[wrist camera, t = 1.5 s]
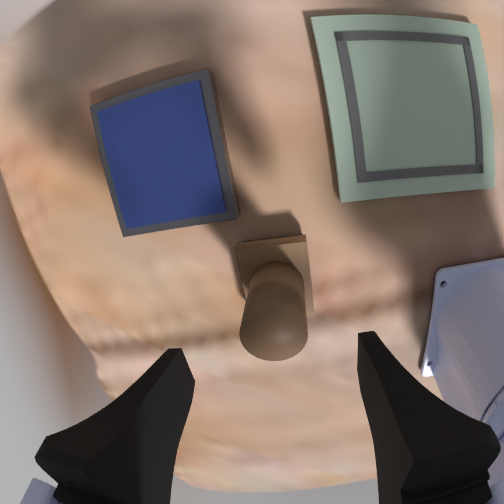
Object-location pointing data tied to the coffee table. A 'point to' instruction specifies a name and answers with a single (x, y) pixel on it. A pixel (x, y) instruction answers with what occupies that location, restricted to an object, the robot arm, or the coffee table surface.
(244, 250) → the stamp
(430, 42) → the board
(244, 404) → the coffee table surface
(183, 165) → the ink pad
